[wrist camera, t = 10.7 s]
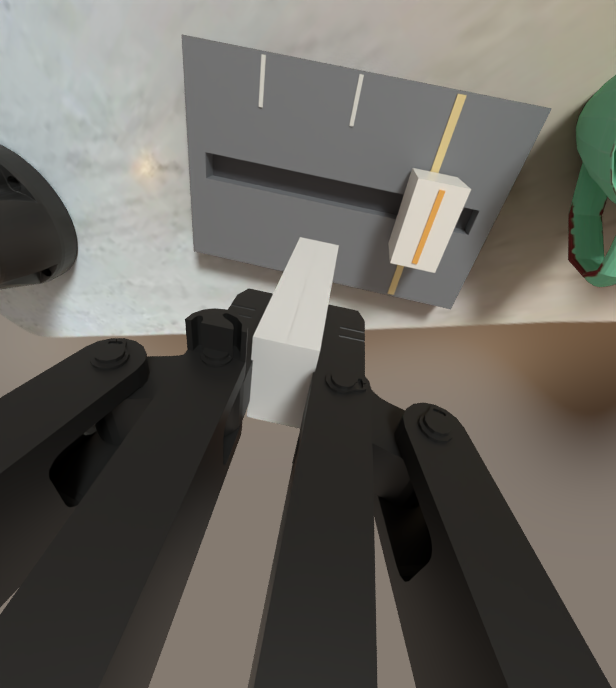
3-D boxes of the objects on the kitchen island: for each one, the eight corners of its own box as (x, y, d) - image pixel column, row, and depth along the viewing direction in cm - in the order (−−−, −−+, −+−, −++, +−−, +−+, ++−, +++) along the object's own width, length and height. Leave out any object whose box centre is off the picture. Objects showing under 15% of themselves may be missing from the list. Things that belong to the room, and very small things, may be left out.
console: (206, 241, 35) (193, 251, 32) (200, 41, 25) (180, 34, 23) (445, 294, 34) (450, 309, 31) (534, 108, 24) (552, 108, 22)
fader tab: (387, 237, 30) (390, 263, 25) (410, 164, 26) (418, 178, 21) (425, 246, 30) (435, 273, 25) (453, 173, 26) (471, 189, 21)
